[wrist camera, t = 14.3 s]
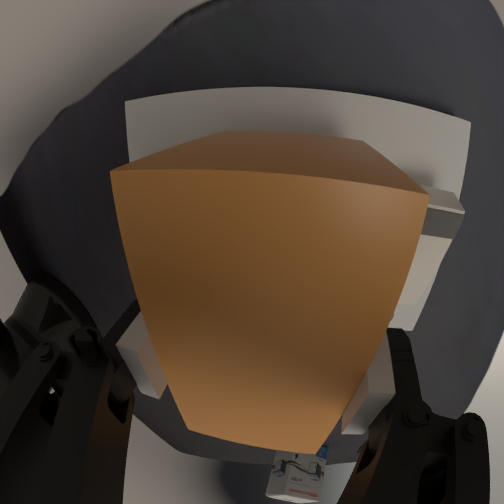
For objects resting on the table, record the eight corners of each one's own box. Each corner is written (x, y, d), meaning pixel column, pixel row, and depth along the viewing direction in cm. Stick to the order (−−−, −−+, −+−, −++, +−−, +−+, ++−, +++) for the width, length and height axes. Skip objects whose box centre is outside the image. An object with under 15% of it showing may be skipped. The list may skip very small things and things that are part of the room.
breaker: (380, 281, 18) (382, 304, 17) (415, 184, 12) (425, 204, 11) (411, 284, 17) (415, 306, 16) (453, 192, 12) (466, 213, 11)
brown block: (232, 324, 18) (188, 429, 11) (226, 130, 12) (109, 171, 5) (326, 338, 17) (315, 454, 10) (362, 140, 11) (430, 194, 4)
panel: (166, 282, 26) (149, 305, 23) (144, 100, 18) (115, 102, 15) (406, 311, 22) (414, 339, 19) (454, 119, 13) (479, 124, 10)
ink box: (328, 446, 39) (321, 501, 29) (309, 452, 42) (300, 503, 32) (295, 434, 38) (284, 495, 28) (276, 440, 41) (263, 496, 31)
